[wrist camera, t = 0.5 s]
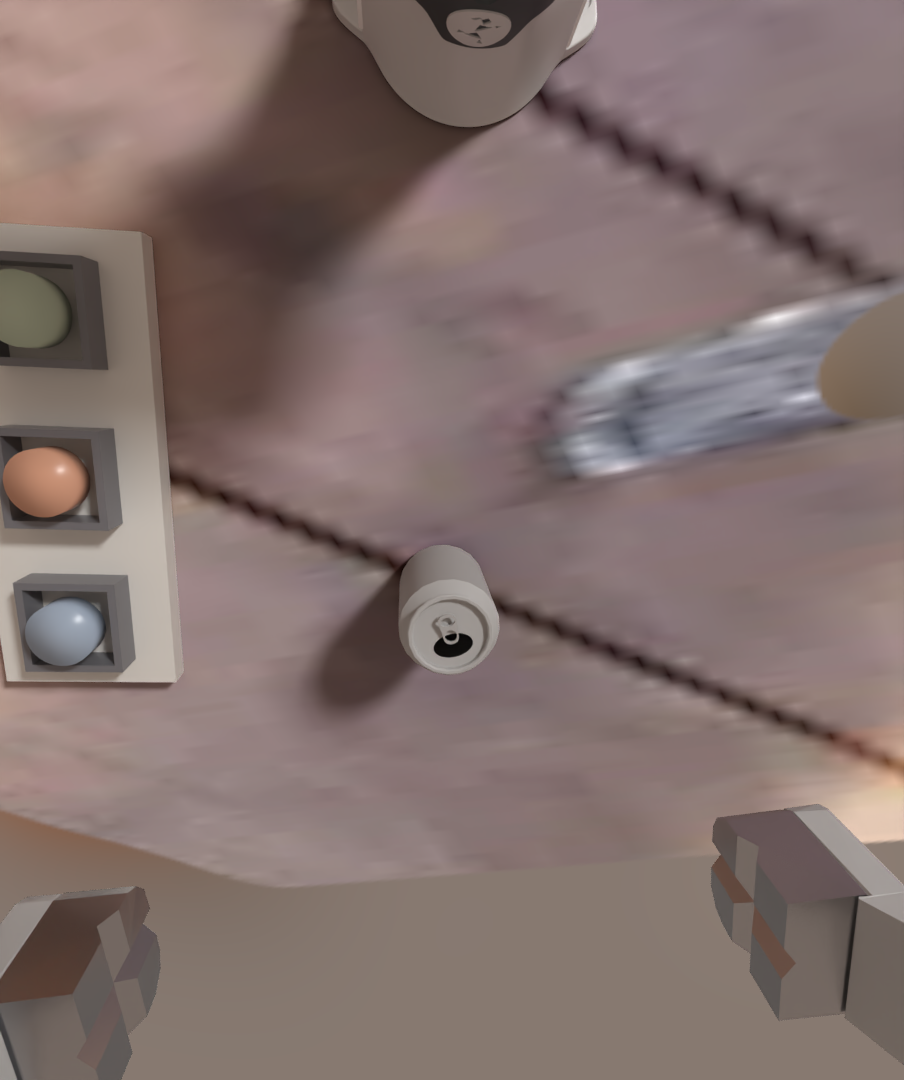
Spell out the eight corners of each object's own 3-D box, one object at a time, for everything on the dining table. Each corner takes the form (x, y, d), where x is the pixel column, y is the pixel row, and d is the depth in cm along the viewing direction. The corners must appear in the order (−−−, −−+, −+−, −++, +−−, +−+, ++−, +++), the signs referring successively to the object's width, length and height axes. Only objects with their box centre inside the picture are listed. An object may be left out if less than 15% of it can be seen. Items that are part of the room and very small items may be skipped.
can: (410, 629, 56) (411, 694, 45) (390, 552, 54) (386, 600, 43) (490, 610, 56) (512, 671, 45) (473, 533, 54) (491, 576, 43)
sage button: (-7, 271, 43) (-28, 266, 41) (68, 276, 43) (51, 271, 41) (3, 346, 44) (-17, 345, 42) (76, 350, 45) (59, 349, 42)
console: (-45, 225, 45) (-93, 209, 41) (152, 237, 46) (125, 223, 42) (21, 670, 55) (-13, 696, 50) (183, 671, 56) (165, 696, 51)
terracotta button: (16, 444, 46) (-2, 448, 44) (86, 447, 46) (71, 450, 44) (25, 510, 47) (7, 516, 45) (93, 512, 48) (79, 518, 46)
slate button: (37, 596, 49) (20, 605, 47) (102, 597, 49) (89, 607, 47) (45, 653, 50) (29, 665, 48) (108, 654, 51) (95, 666, 49)
